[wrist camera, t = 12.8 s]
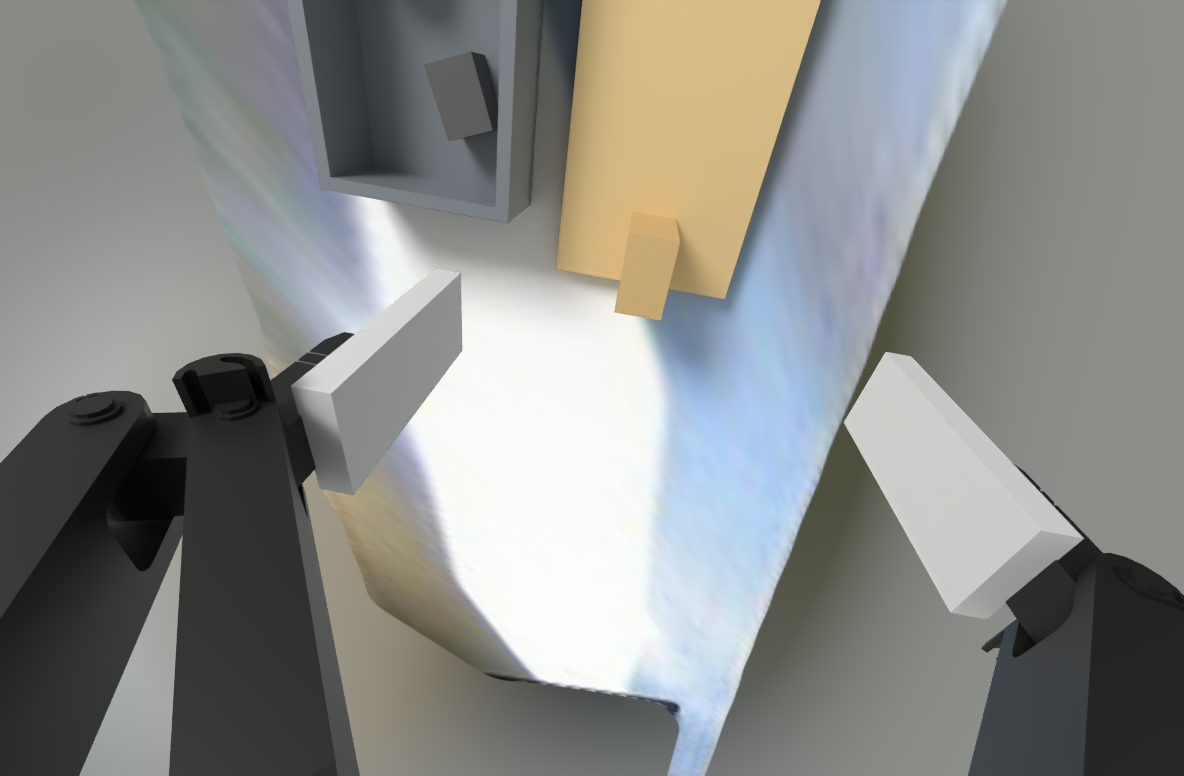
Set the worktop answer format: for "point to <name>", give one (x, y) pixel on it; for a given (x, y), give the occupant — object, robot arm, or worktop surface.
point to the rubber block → (464, 95)
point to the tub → (418, 100)
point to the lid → (673, 139)
